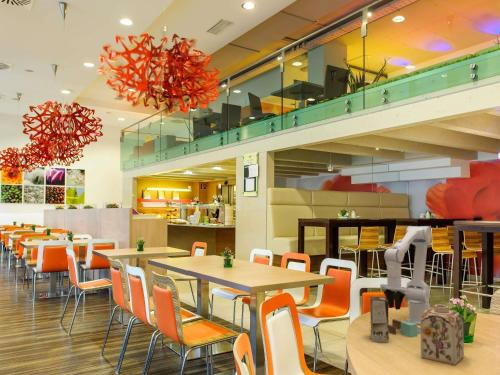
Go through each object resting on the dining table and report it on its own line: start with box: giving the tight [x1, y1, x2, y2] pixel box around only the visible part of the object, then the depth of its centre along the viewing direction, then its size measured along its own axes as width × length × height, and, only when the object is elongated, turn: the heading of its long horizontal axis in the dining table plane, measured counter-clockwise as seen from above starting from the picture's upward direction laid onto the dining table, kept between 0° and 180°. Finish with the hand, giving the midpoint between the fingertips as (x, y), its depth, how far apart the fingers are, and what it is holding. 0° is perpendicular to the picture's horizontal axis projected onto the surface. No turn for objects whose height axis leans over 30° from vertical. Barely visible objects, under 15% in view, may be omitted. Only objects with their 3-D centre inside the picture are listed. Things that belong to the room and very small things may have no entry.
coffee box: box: [369, 296, 390, 344], centre depth 172 cm, size 9×6×16 cm
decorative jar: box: [420, 304, 465, 366], centre depth 151 cm, size 12×12×18 cm
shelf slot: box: [388, 318, 402, 335], centre depth 184 cm, size 10×9×3 cm
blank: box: [400, 320, 418, 338], centre depth 177 cm, size 4×5×5 cm
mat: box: [417, 326, 421, 335], centre depth 184 cm, size 7×7×1 cm
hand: (394, 308), depth 184 cm, fingers open, 3 cm apart
